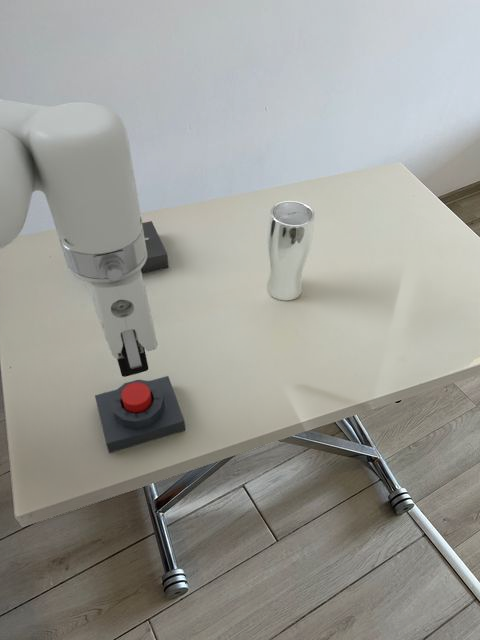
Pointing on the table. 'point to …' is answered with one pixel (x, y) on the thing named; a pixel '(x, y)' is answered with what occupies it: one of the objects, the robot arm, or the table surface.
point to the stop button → (136, 397)
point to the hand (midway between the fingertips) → (134, 368)
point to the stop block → (139, 416)
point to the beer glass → (288, 247)
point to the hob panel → (153, 250)
